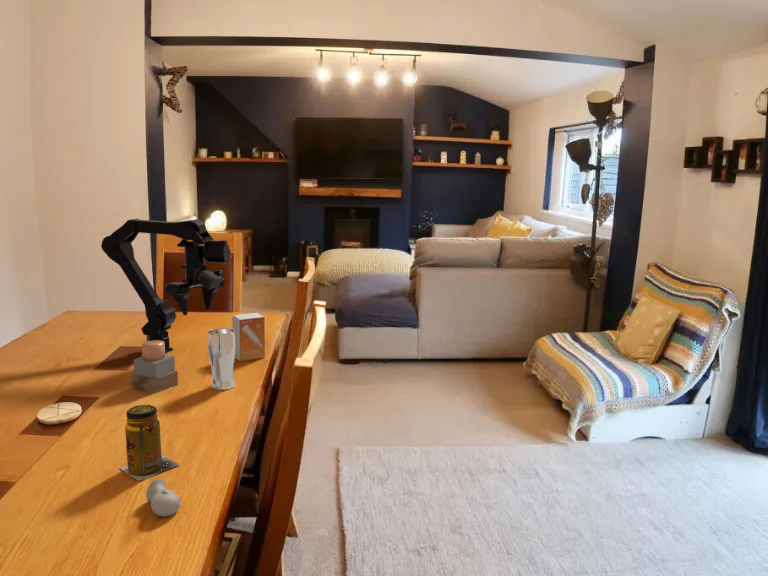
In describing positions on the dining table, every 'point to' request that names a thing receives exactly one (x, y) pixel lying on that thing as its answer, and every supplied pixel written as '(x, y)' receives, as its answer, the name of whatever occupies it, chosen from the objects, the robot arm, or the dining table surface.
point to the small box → (249, 336)
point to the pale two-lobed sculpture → (162, 498)
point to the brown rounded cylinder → (153, 350)
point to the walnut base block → (154, 382)
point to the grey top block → (154, 367)
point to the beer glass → (222, 357)
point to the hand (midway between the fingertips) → (196, 312)
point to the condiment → (144, 443)
